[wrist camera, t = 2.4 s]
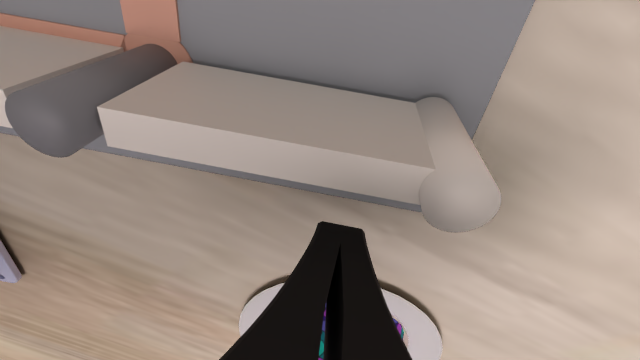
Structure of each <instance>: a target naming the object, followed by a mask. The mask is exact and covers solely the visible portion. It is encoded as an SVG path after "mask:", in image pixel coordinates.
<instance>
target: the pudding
mask: <svg viewBox="0 0 640 360" xmlns="http://www.w3.org/2000/svg"><path fill="white" fill-rule="evenodd" d="M283 285H284V283H281V284H278V285H276V286H273V287H271V288H268V289H265V290H264V291H262V292H261V293H259V294H258V295H256V296H254V297H253V298H252V299H251V300H250V301H249V302H248V303H247V304H246V305H245V307H244V309H243V311H242V313H241V314H240V320H239V331H240V335H241V336H242V335H243V334H244V333H245V332H246V331H247V330H248V328H249V327H250V326H251V325H252V324H253V323H254V321H255V320H256V319H257V318H258V317H259V316H260V314H261V313H262V312H263V311H264V310H265V308H266V307H267V306H268V305H269V303H270V302H271V301H272V300H273V298H274V297H275V296H276V294H277V293H278V292H279V290H280V289H281V287H282V286H283ZM381 291H382V293H383V296H384V299H385V301H386V304H387V306H388V309H389V311H390V313H391V314H392V315H394V316H395V317H396V318H397V319H398V320H399V321H400V322H401V323H402V324H403V326H404V328H405V330H406V332H407V335H408V339H409V341H408V348H407V350H408V352H409V354H410V356H411V358H412V360H440V358H441V354H442V349H443V347H442V340H441V336H440V334H439V332H438V330H437V328H436V326H435V325H434V323H433V322H432V321H431V320H430V318H429V317H428V316H427V315H426V314H425V313H424V312H422V311H421V310H420V309H419V308H417V307H416V306H415V305H414V304H412V303H410V302H408V301H407V300H405V299H403V298H402V297H400V296H398V295H396V294H393V293H391V292H388V291H386V290H384V289H381ZM325 319H326V306H325V311H324V317H323V325H322V334H321V342H320V350H319V358H318V360H323V356H324V337H325ZM393 320H394V322H395V325H396V327H397V329H398V331H399V333H400V336H401V338H402V340H403V335H404V331H403V328H402V326H401V324H399V323H398V322H397V321H396V320H395V319H394V318H393Z"/></svg>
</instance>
